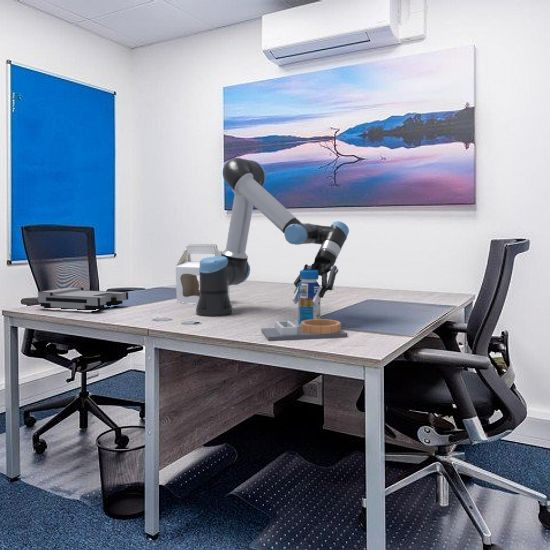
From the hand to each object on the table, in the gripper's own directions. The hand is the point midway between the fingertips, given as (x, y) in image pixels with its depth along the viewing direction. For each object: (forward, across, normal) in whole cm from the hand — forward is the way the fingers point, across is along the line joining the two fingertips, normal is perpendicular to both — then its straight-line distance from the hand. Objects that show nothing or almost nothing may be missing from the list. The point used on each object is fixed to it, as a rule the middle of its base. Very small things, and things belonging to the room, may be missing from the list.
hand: (304, 302), depth 182 cm
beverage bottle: (+4, 0, -9) cm, 10 cm away
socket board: (+14, -7, +2) cm, 16 cm away
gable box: (-10, +73, -23) cm, 77 cm away
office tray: (+20, +105, +7) cm, 107 cm away
